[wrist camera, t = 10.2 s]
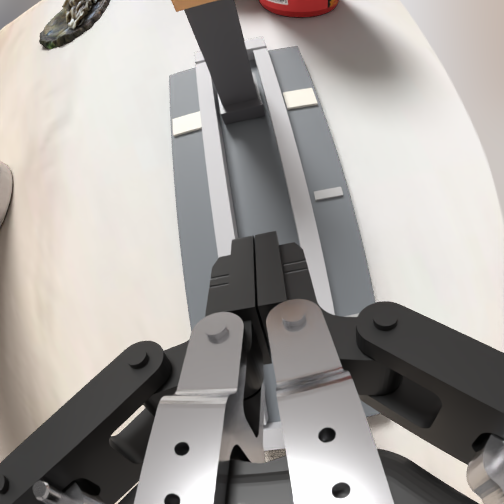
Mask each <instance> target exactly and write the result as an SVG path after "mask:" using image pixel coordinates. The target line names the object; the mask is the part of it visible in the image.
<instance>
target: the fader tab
mask: <svg viewBox="0 0 504 504" xmlns="http://www.w3.org/2000/svg"><path fill="white" fill-rule="evenodd" d="M171 1H172V3H173V5H174V8H175V10H176V12H178V11H181V10H184V11H185V13H186V15H187V18H188V20H189V23H190V25H191V28H192V30H193V33H194V35H195V38H196V40H197V42H198V45H199V47H200V50H201V52H202V55H203V57H204V60H205V62H206V65H207V67H208V70H209V72H210V75H211V77H212V80H213V83H214V85H215V88H216V90H217V93H218V100H219V106H220V113H221V116H222V119H223V121H224V124H225V125H226V124H230V123H235V122H239V121H243V120H248V119H253V118H257V117H262V116H265V113H264V108H263V103H262V99H261V96H260V92H259V88H258V84H257V80H256V76H255V72H252V71H251V67H250V62H249V58H248V54H247V50H246V46H245V42H244V38H243V34H242V30H241V26H240V22H239V18H238V14H237V10H236V6H235V2H234V0H171Z"/></svg>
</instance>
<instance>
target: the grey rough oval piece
mask: <svg viewBox="0 0 504 504" xmlns="http://www.w3.org/2000/svg"><path fill="white" fill-rule="evenodd" d="M109 2H110V0H65V2H64V4H63V6H62V7H63V9H62V10H61V11H60V12H59V13H58V14H57V15H56V16H55V17H54V18H53V19H51V21H50V22H49V23H48V24H47V25H46V26H45V28H44V30H43V31H42V32H41V33H40V41H39V42H40V44H42V45H43V46H44V47H46V48H47V49H53V48H54V47H60V46H62V45H63V44H66V43H69V42H71V41H72V40H73V39H75V38H76V37H78V36H80V35H81V34H83V33H84V32H85V31H86V30H88V29H90V28H91V27H92V26H93V25H94V23H95V22H96V21H97V20H99V19H100V17H101V15H102V13H103V12H104V11H105V10H106V7H107V6H108V5H109Z"/></svg>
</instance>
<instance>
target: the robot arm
mask: <svg viewBox="0 0 504 504" xmlns="http://www.w3.org/2000/svg"><path fill="white" fill-rule="evenodd" d="M11 192H12V174H11V170H10V168H9V167H8V165H6V164H4V163H3V162H1V161H0V226H1V224H2V222H3V220H4V217H5V215H6V212H7V209H8V206H9V202H10V198H11ZM209 286H210V288H209V292H208V299H207V306H206V313H205V317H204V318H203V319H201V320H200V321H199V322H198V323H197V324H196V325H195V326H194V328H193V330H192V332H191V336H190V340H188V341H187V342H185V343H182V344H180V345H178V346H175V347H172V348H170V349H167V350H165V351H163V349H162V348H161V346H160V345H159V344H157V343H155V342H153V341H141V342H138V343H135V344H133V345H131V346H130V347H128V348H127V349H126V350H124V351H123V352H122V353H121V354H120V355H119V356H118V357H117V358H115V359H114V360H113V361H112V362H111V363H110V364H109V365H108V366H107V367H105V368H104V369H103V370H102V371H101V372H100V373H99V374H98V375H96V376H95V377H94V378H93V379H92V380H91V381H90V382H89V383H88V384H86V385H85V386H84V387H83V388H82V389H81V390H80V391H79V392H78V393H76V394H75V395H74V396H73V397H72V398H71V399H70V400H69V401H68V402H67V403H65V404H64V405H63V406H62V407H61V408H60V409H59V410H58V411H57V412H55V413H54V414H53V415H52V416H51V417H50V418H49V419H48V420H47V421H46V422H44V423H43V424H42V425H41V426H40V427H39V428H38V429H37V430H36V431H35V432H33V433H32V434H31V435H30V436H29V437H28V438H27V439H26V440H25V441H24V442H23V443H21V444H20V445H19V446H18V447H17V448H16V449H15V450H14V451H13V452H12V453H11V454H10V455H8V456H7V457H6V458H5V459H4V460H3V461H2V462H1V463H0V504H114V503H116V502H117V501H118V500H119V499H120V498H121V497H122V496H123V495H124V494H125V493H126V492H127V491H129V490H130V489H131V488H132V487H133V486H134V485H135V484H136V483H137V482H138V481H139V483H138V484H137V485H136V486H135V487H134V488H133V489H132V490H131V491H130V492H129V493H128V494H127V495H126V496H125V497H124V498H123V499H122V500H121V501H120V502H119V503H118V504H479V503H477V502H475V501H474V500H472V499H470V498H469V497H467V496H465V495H464V494H462V493H460V492H459V491H457V490H455V489H454V488H452V487H451V486H449V485H447V484H446V483H444V482H443V481H441V480H440V479H438V478H436V477H435V476H433V475H432V474H430V473H429V472H427V471H426V470H424V469H423V468H421V467H420V466H418V465H417V464H415V463H414V462H412V461H410V460H409V459H407V458H405V457H403V456H401V455H399V454H396V453H393V452H390V451H386V450H382V449H377V448H376V445H375V442H374V439H373V436H372V433H371V430H370V427H369V424H368V421H367V418H366V415H365V413H364V410H363V407H362V404H361V401H363V402H364V403H366V404H367V405H369V406H370V407H372V408H373V409H375V410H376V411H378V412H380V413H381V414H383V415H384V416H386V417H388V418H389V419H391V420H392V421H394V422H396V423H397V424H399V425H400V426H402V427H404V428H405V429H407V430H409V431H410V432H412V433H414V434H415V435H417V436H419V437H420V438H422V439H424V440H425V441H427V442H429V443H430V444H432V445H434V446H435V447H437V448H439V449H441V450H442V451H444V452H446V453H448V454H449V455H451V456H453V457H455V458H456V459H458V460H460V461H462V462H464V463H465V464H467V465H468V467H467V482H468V485H469V486H470V488H471V489H472V491H474V492H475V493H476V494H477V495H478V496H479V497H480V498H481V499H482V501H483V503H484V504H504V353H502V352H500V351H498V350H496V349H494V348H492V347H490V346H488V345H486V344H484V343H481V342H479V341H477V340H475V339H473V338H471V337H469V336H467V335H464V334H462V333H460V332H458V331H456V330H454V329H452V328H449V327H447V326H445V325H443V324H441V323H439V322H437V321H434V320H432V319H430V318H428V317H426V316H424V315H422V314H419V313H417V312H415V311H413V310H411V309H409V308H406V307H404V306H402V305H400V304H397V303H394V302H377V303H373V304H371V305H368V306H367V307H365V308H364V309H363V310H362V311H361V312H360V313H359V315H358V316H357V317H343V316H336V315H333V314H330V313H328V312H326V311H325V310H323V309H322V308H321V307H320V306H319V304H318V302H317V299H316V296H315V292H314V288H313V284H312V280H311V277H310V273H309V269H308V265H307V262H306V258H305V254H304V251H303V249H302V248H301V247H300V246H299V245H297V244H296V243H295V242H292V243H287V244H282V245H279V242H278V237H277V232H276V231H272V232H267V233H262V234H257V235H255V238H254V236H253V235H252V236H248V237H243V238H238V239H233V240H232V243H231V255H227V256H222V257H219V258H218V260H217V261H216V262H215V264H214V265H213V267H212V271H211V279H210V285H209ZM271 354H272V357H271ZM272 360H273V366H274V372H275V377H276V383H277V388H276V395H277V402H278V408H279V414H280V420H281V426H282V432H283V437H284V443H285V449H286V456H283V457H280V458H277V459H275V460H272V461H269V462H265V453H264V448H263V425H264V404H265V384H264V381H263V380H264V371H263V365H265V364H272ZM360 400H361V401H360ZM142 405H144V406H145V409H144V410H143V411H142V412H141V413H140V414H139V415H138V416H137V417H136V418H135V419H134V420H133V421H132V422H131V423H130V424H129V425H128V426H127V427H125V428H124V429H123V430H122V431H121V432H120V433H119V434H118V435H116V436H111V435H112V433H113V432H114V431H115V430H116V429H117V428H118V427H120V426H121V425H122V424H123V423H124V422H125V421H126V420H127V419H128V418H129V417H130V416H131V415H132V414H133V413H134V412H135V411H136V410H137V409H138V408H139V407H141V406H142Z"/></svg>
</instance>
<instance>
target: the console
mask: <svg viewBox="0 0 504 504" xmlns="http://www.w3.org/2000/svg"><path fill="white" fill-rule="evenodd" d="M244 42H245V46H246V50H247V54H248V58H249V62H250V67H251V71H252V72H255V76H256V80H257V84H258V88H259V92H260V96H261V99H262V103H263V108H264V113H265V116H262V117H257V118H253V119H248V120H243V121H239V122H235V123H230V124H226V125H225V124H224V121H223V119H222V116H221V113H220V106H219V100H218V93H217V90H216V88H215V85H214V83H213V80H212V77H211V75H210V72H209V70H208V67H207V65H206V62H205V60H204V57H203V55H202V52H201V51H197V52H194V56H195V63H196V65H195V67H196V68H192V69H189V70H186V71H182V72H179V73H176V74H173V75H170V76H169V85H170V116H171V138H172V155H173V170H174V184H175V196H176V208H177V218H178V229H179V238H180V248H181V257H182V265H183V273H184V281H185V289H186V297H187V304H188V311H189V318H190V325H191V331H192V330H193V328H194V326H195V325H196V324H197V323H198V322H199V321H200V320H201V319H203V318H204V317H205V313H206V306H207V299H208V292H209V288H210V286H209V285H210V279H211V271H212V267H213V265H214V264H215V262H216V261H217V260H218V258H219V257H222V256H227V255H231V243H232V240H233V239H238V238H243V237H248V236H252V235H253V236H254V238H255V235H257V234H262V233H267V232H272V231H276V232H277V237H278V242H279V245H282V244H287V243H292V242H295V243H296V244H297V245H299V246H300V247H301V248H302V249H303V251H304V254H305V258H306V262H307V265H308V269H309V273H310V277H311V280H312V284H313V288H314V292H315V296H316V299H317V302H318V304H319V306H320V307H321V308H322V309H323V310H325V311H326V312H328V313H330V314H333V315H336V316H343V317H357V316H358V315H359V313H360V312H361V311H362V310H363V309H364V308H365V307H367V306H368V305H371V304H373V303H375V298H374V293H373V288H372V283H371V279H370V274H369V269H368V265H367V260H366V256H365V252H364V248H363V243H362V239H361V235H360V231H359V227H358V223H357V220H356V216H355V212H354V208H353V205H352V201H351V197H350V194H349V190H348V187H347V183H346V180H345V177H344V173H343V170H342V167H341V164H340V160H339V157H338V154H337V151H336V148H335V145H334V142H333V139H332V136H331V133H330V130H329V127H328V124H327V121H326V118H325V115H324V113H323V110H322V107H321V104H320V102H319V99H318V96H317V94H316V91H315V88H314V86H313V83H312V81H311V78H310V75H309V73H308V70H307V68H306V65H305V63H304V61H303V58H302V56H301V53H300V51H299V49H298V46H294V47H287V48H281V49H275V50H269V51H268V49H267V47H266V44H265V41H264V38H263V36H262V37H256V38H251V39H247V40H244ZM271 357H272V354H271ZM263 371H264V380H263V381H264V384H265V404H264V425H263V448H264V451H268V450H277V449H285V443H284V437H283V432H282V426H281V420H280V414H279V408H278V402H277V395H276V388H277V383H276V377H275V372H274V366H273V360H272V364H265V365H263ZM360 401H361V400H360ZM361 404H362V407H363V410H364V413H365V415H366V417H368V416H372V415H376V414H380V412H378V411H376V410H375V409H373V408H372V407H370V406H369V405H367V404H366V403H364V402H363V401H361Z"/></svg>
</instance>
